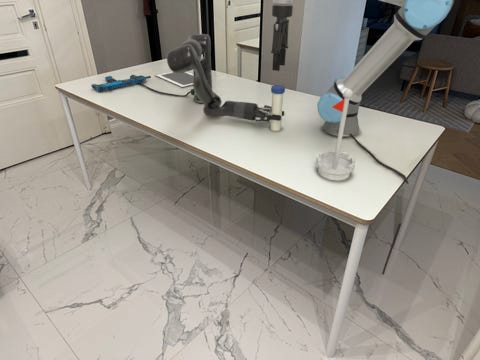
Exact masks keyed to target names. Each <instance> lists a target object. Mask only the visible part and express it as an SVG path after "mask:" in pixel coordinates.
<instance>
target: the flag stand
mask: <svg viewBox="0 0 480 360" xmlns="http://www.w3.org/2000/svg"><path fill="white" fill-rule="evenodd" d="M352 95H353V92H352V90H350V89H346V90H344V92H343V97H344V99H343V100H342V101H340V102H339V103H337V104H336V105H334V106H333V107H332V108H334V109H337V110H339V111H341V112H342V115H341V121H340V127H339V133H338V137H336V138H337V139H336V145H335V149H329V150H328V152H325V151H320V152H319V153H318V156H317V157H316V160H315V164H316V167H317V169H318V170H317V172H318V174H319V175H320V176H321V177H323V178H324V179H327V180H330V181H344V180H346V179H349V178H350V177H351V176H350V175H351V173H352V172H353V171H354V170H355V167H356V159H355V157H354V156H353V157H350V153H348V152H345V151H342V152H341V149H342V148H341V147H342V142H343V138H342V137H343V131H344V126H345V120H346V115H347V109H348V104H349V98H351V97H352ZM340 152H341V153H340Z"/></svg>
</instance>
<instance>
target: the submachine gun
mask: <svg viewBox="0 0 480 360" xmlns="http://www.w3.org/2000/svg"><path fill="white" fill-rule="evenodd" d="M151 78H152V76H151V75H147V76H145V75H135V74H130V75H129V78H126V79H118V80H117V79H115V78H113V76H112V75H108V76H105V77H104V80H105V81H106V82H105V83H100V84H97V83H91V84H90V85H91V88H92V89H93V90H95V91H96V92H103V91H109V92H111V91H112V89H117V88H122V87H126V86H130V85H136V83H141V84H143V83H145V82H146V81H147V79H151Z"/></svg>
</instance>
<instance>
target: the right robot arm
mask: <svg viewBox="0 0 480 360" xmlns="http://www.w3.org/2000/svg"><path fill="white" fill-rule="evenodd" d="M379 2H383V3H388V4H391V5H395V6H399V7H400V8H399V9H398V10H397V11H396V13H395V14H394V15H393V23H392V24H391V26H389V28H388V29H387V30H386V31H385V32H384V33H383V35H382V36H381V37H380V38H379V39H378V40H377V41H376V42H375V43H374V44H373V45H372V46H371V48H370V49H369V50H368V51H367V52H366V53H365V55H363V57H362V58H361V59H360V60H359V61H358V63H357V64H356V65H355V66H354V67H353V68H352V69H351V71H349V72H348V74H347V75H346V76H338V77H335V78H334V81H333V85H331V87H330V88H329V89H328V90H327V91H326V93H324V94H322V95H321V96H320V98H319V99H318V102H317V105H316V108H317V109H316V110H317V113H318V115H319V116H320V118H321V119H322V120H324V123H323V126H322V130H323V132H324V133H325V134H326V135H329V136H332V137H335V138H338V133H339V127H340V121H341V115H342V112H341V111H339V110H337V109H334V108H332V107H333V106H334V105H336V104H337V103H339V102H340V101H342V100H343V99H344V97H343V92H344V90H346V89H350V90H352V92H353V95H352V97H351V98H349V104H348V109H347V115H346V120H345V126H344V131H343V137H342V139H349V138H352V139H353V140H354V142H355V143H356V144H357V145H358V146H359V147H361V148H362V149H363V150H364V151H366V153H367V154H369V155H370V156H371V157H372V159H374V161H375V162H377V163H378V164H379V165H381V166H383V167H385V168H386V169H389V170H391V171H393V172H394V173H396V174H397V175H398V176H401V177H402V178H403V179H404V182H405V184H407V185H409V180H408V178H407V176H406V175H405V174H403V173H401V172H400V171H399V170H397V169H396V168H393V167H391V166H389V165H387V164H385V163H383V162H382V161H381V160H379V159H378V158H377V157H376V156H375V155H374V154H373V153H372V152H371V151H370V150H369V149H368V148H366V147H365V146H364V145H363V144H362V143H360V141H358V140H357V138H356V136H357V135H359V132H360V125H359V118H358V117H359V116H358V114H359V111H360V110H359V109H360V105H361V101H362V97H363V96H362V95H363V93H364V92H366V90H367V89H368V88H369V87H370V86H371V85H373V83H374V82H375V81H376V80H378V78H379V77H380V76H381V75H382V74H383V73H384V72H385V71H386V70H387V69H388V68H389V67H390V66H391V65H392V64H393V63H394V62H395V61H396V60H397V59H398V58H399V57H400V56H401V55H402V54H403V53H404V52H405V51H406V50H407V49H408V47H410V45H412V43H413V42H415V41H420V40H423V39H424V38H425V37H426V36H427V35H428V34H429V33H430V32H431V31H432V30H434V28H435V27H437V25H439V24H440V23H441V22H442V21H444V19H445V18H446V17H447V16H448V14H449V12H450V11H451V10H452V8H453V6H454V3H455V0H379ZM272 4H273V5H272V6H271V7H272V8H271V15H272V17H275V18H276V21H275V23H274V24H273V32H272V33H273V34H272V44H271V51H270V53H271V54H272V71H277V72H280V70H281V69H280V68H281V66H284V67H285V65H286V57H287V56H286V55H287V53H286V52H287V49H289V24H290V19H288V18H290V17H293V11H294V10H293V9H294V6H293V4H294V0H272ZM401 226H402V222H400V223H398V224H397V228H396V231H395V233H394V237H393V240H392V243H391V246H390V248H389V251H388V255H387V257H386V260H385V263H384V266H383V269H382V272H381V275H383V276H384V275H385V273H386V270H387V266H388V263H389V260H390V257H391V254H392V252H393V249H394V246H395V243H396V240H397V237H398V235H399V232H400V229H401Z"/></svg>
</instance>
